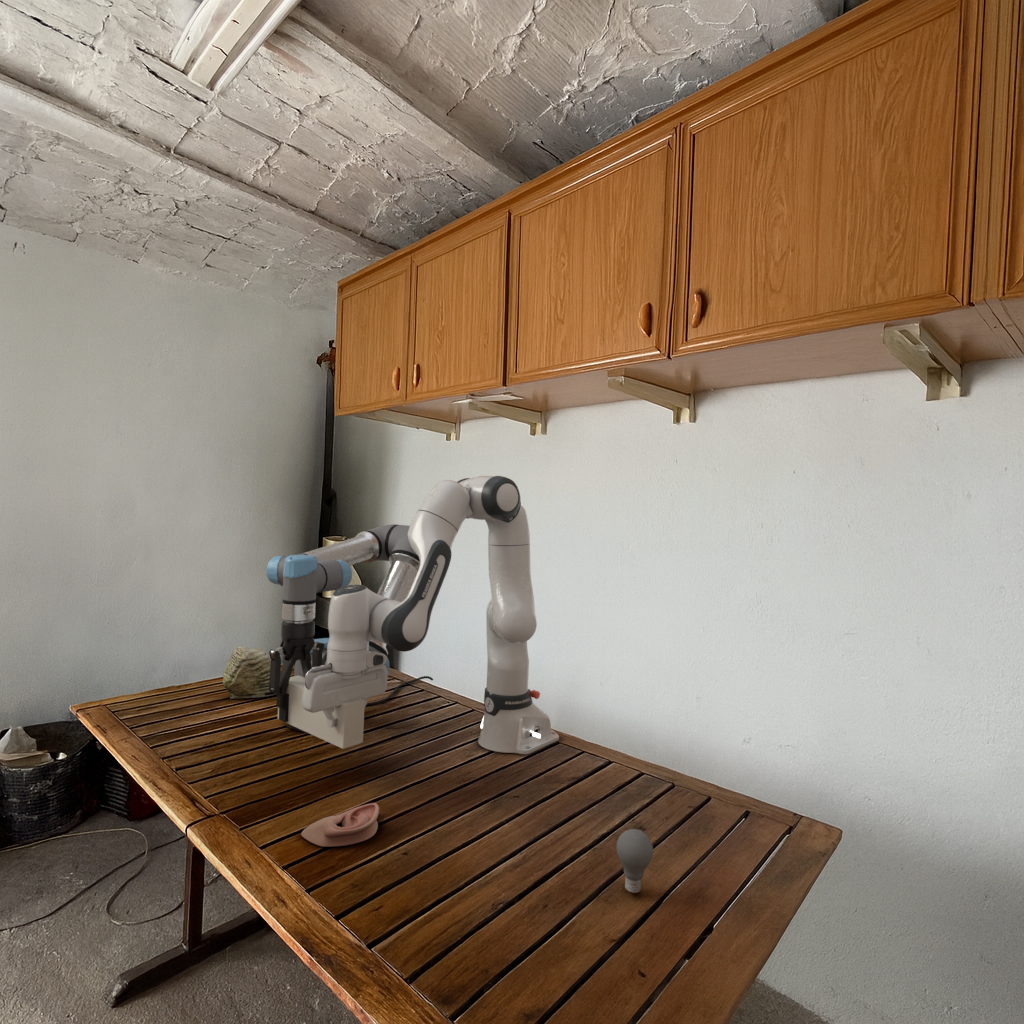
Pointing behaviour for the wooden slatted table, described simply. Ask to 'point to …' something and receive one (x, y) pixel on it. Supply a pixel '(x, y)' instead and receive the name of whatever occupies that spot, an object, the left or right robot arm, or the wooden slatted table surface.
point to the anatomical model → (344, 827)
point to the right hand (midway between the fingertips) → (345, 722)
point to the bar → (316, 723)
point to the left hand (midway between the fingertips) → (294, 717)
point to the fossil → (248, 673)
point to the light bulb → (634, 857)
